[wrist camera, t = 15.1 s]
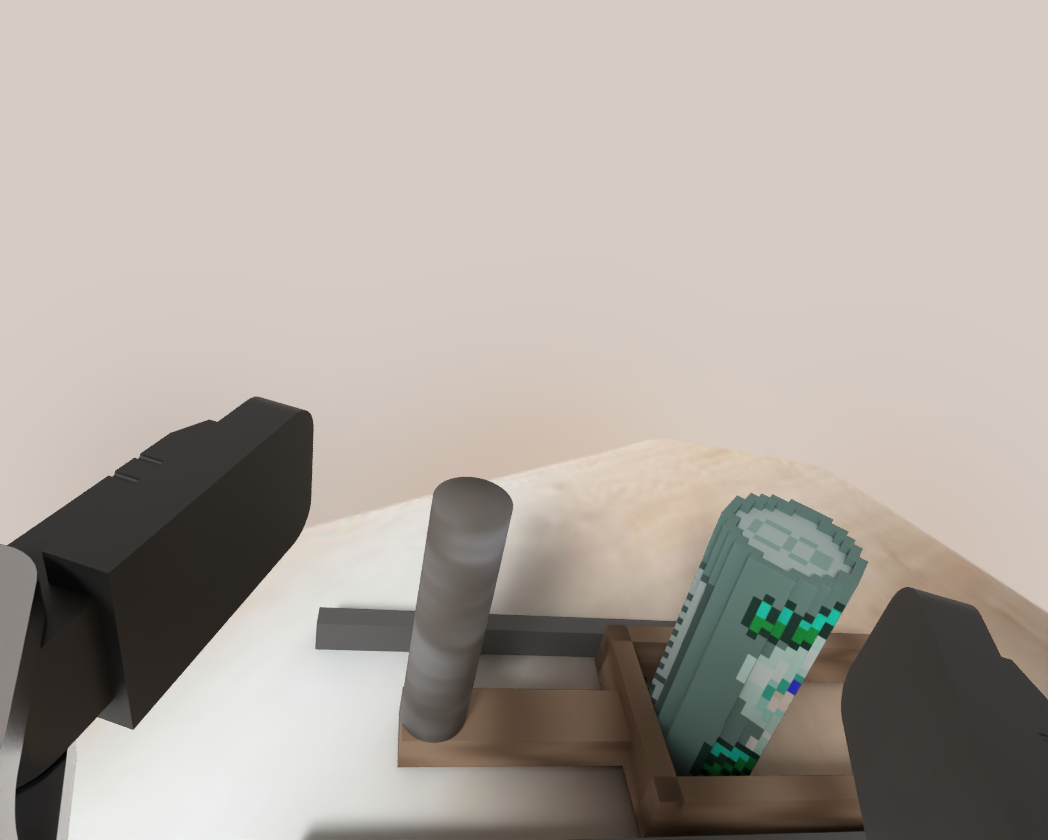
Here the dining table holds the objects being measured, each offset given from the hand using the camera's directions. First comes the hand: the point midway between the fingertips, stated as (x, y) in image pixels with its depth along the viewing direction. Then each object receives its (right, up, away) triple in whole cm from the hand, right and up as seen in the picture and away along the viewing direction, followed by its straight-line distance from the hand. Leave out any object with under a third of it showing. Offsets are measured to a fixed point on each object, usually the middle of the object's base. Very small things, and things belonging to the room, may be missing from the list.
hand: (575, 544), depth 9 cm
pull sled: (+7, -16, +28) cm, 33 cm away
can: (+8, -16, +28) cm, 34 cm away
